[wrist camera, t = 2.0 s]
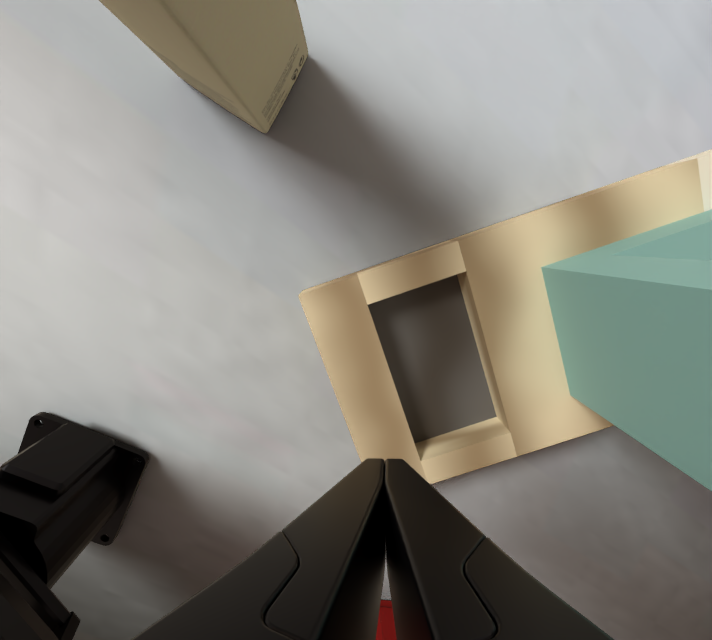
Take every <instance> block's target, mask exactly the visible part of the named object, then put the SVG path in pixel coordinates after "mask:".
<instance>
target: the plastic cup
mask: <svg viewBox="0 0 712 640" xmlns="http://www.w3.org/2000/svg"><path fill="white" fill-rule="evenodd" d="M376 640H397V638H396V631H395V623H394V616H393V608H392V601H388V600H381V602H380V610H379V617H378V625H377V632H376Z"/></svg>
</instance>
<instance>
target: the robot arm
mask: <svg viewBox="0 0 712 640" xmlns="http://www.w3.org/2000/svg"><path fill="white" fill-rule="evenodd" d="M40 420H41V421H42V422H43V424H42V423H41V422H40ZM136 458H138V459H140V461H141V462H138V461H137V460H136ZM148 462H149V456H148V454H147V453H146V452H144V451H142V450H140V449H137V448H135V447H132V446H130V445H127V444H125V443H122V442H120V441H117V440H114V439H112V438H109V437H107V436H104V435H102V434H99V433H97V432H94V431H92V430H89V429H87V428H84V427H82V426H79V425H77V424H74V423H72V422H69V421H66V420H64V419H61V418H59V417H56V416H54V415H51V414H49V413H46V412H40V413H38V414H36V415H35V416H33V417H31V418H30V420H29V423H28V425H27V428H26V431H25V434H24V437H23V440H22V443H21V446H20V449H19V452H18V454H17V455H16V456H14V457H13V458H11V459H10V460H8V461H7V462H5V463H4V464H2V466H1V467H0V640H72V639H73V637H74V635H75V632H76V630H77V628H78V626H79V623H80V619H79V618H78V617H77V616H76V614H75V613H74V612H69V611H68V610H67V608H66V607H65V606H64V605H63V604H62V602H61V601H60V600H59V599H58V598H57V597H56V595H55V594H54V593H53V592H52V591H51V590H50V589H51V588H52V587H53V585H54V584H55V583H56V582H57V581H58V579H59V578H60V577H61V576H62V575H63V573H64V572H65V571H66V570H67V569H68V568H69V566H70V565H71V564H72V563H73V562H74V560H75V559H76V558H77V557H78V556H79V554H80V553H81V552H82V551H83V550H84V549H85V547H86V546H87V545H88V544H89V543H90V541H93V542H95V543H98V544H101V545H105V546H106V545H110V544H112V542H113V541H114V540H115V538H116V537H117V535H118V533H119V531H120V528H121V526H122V523H123V521H124V519H125V516H126V514H127V512H128V509H129V507H130V505H131V502H132V500H133V497H134V495H135V493H136V490H137V488H138V486H139V483H140V481H141V478H142V476H143V474H144V471H145V469H146V467H147V464H148ZM106 535H107V536H106ZM385 560H386V561H387V571H388V579H389V586H390V594H391V601H392V608H393V616H394V623H395V631H396V638H397V640H614V639H613V638H611V637H610V636H609V635H608V634H606V633H605V632H604V631H602V630H601V629H600V628H598V627H597V626H596V625H594V624H593V623H592V622H591V621H589V620H588V619H587V618H585V617H584V616H583V615H581V614H580V613H579V612H577V611H576V610H575V609H574V608H572V607H571V606H570V605H568V604H567V603H566V602H564V601H563V600H562V599H560V598H559V597H558V596H557V595H555V594H554V593H553V592H551V591H550V590H549V589H548V588H546V587H545V586H544V585H543V584H541V583H540V582H539V581H538V580H536V579H535V578H534V577H533V576H531V575H530V574H529V573H528V572H526V571H525V570H524V569H523V568H522V567H521V566H519V565H518V564H517V563H516V562H515V561H514V560H513V559H511V558H510V557H509V556H508V555H507V554H506V553H505V552H503V551H502V550H501V549H500V548H499V547H498V546H497V545H496V544H495V543H494V542H493V541H491V540H490V539H489V538H486V536H485V535H484V534H483V533H482V532H481V531H480V530H479V529H478V528H477V527H475V526H474V525H473V524H472V523H471V522H470V521H469V520H468V519H467V518H466V517H465V516H464V515H463V514H461V513H460V512H459V511H458V510H457V509H456V508H455V507H454V506H453V505H452V504H451V503H450V502H449V501H448V500H446V499H445V498H444V497H443V496H442V495H441V494H440V493H439V492H438V491H437V490H436V489H435V488H434V487H433V486H431V485H430V484H429V483H428V482H427V481H426V480H425V479H424V478H423V477H422V476H421V475H420V474H419V473H417V472H416V471H415V470H414V469H413V468H412V467H411V466H410V465H409V464H408V463H407V462H406V461H405V460H403V459H393V458H388V459H386V460H385V461H384V459H382V458H368V459H366V460H364V461H363V462H362V463H361V464H360V465H358V466H357V467H356V468H355V469H354V470H353V471H351V472H350V473H349V474H348V475H347V476H345V477H344V478H343V479H342V480H341V481H340V482H338V483H337V484H336V485H335V486H334V487H332V488H331V489H330V490H329V491H328V492H327V493H325V494H324V495H323V496H322V497H321V498H319V499H318V500H317V501H316V502H315V503H314V504H312V505H311V506H310V507H309V508H308V509H306V510H305V511H304V512H303V513H302V514H301V515H299V516H298V517H297V518H296V519H295V520H293V521H292V522H291V523H290V524H289V525H288V526H286V527H285V528H284V529H283V530H282V532H278V533H277V534H276V535H275V536H273V537H272V538H271V539H270V540H269V541H267V542H266V543H265V544H264V545H263V546H261V547H260V548H259V549H257V550H256V551H255V552H254V553H252V554H251V555H250V556H249V557H247V558H246V559H245V560H244V561H242V562H241V563H239V564H238V565H237V566H235V567H234V568H233V569H231V570H230V571H228V572H227V573H226V574H224V575H223V576H221V577H220V578H219V579H217V580H216V581H215V582H213V583H212V584H210V585H209V586H207V587H206V588H204V589H203V590H201V591H200V592H199V593H197V594H196V595H194V596H193V597H191V598H190V599H188V600H187V601H186V602H184V603H183V604H181V605H180V606H178V607H177V608H175V609H174V610H173V611H171V612H170V613H168V614H167V615H165V616H164V617H162V618H161V619H160V620H158V621H157V622H155V623H154V624H152V625H151V626H149V627H148V628H147V629H145V630H144V631H142V632H141V633H139V634H138V635H136V636H135V637H134V638H132V639H131V640H376V632H377V625H378V617H379V610H380V602H381V594H382V587H383V579H384V571H385Z"/></svg>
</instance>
